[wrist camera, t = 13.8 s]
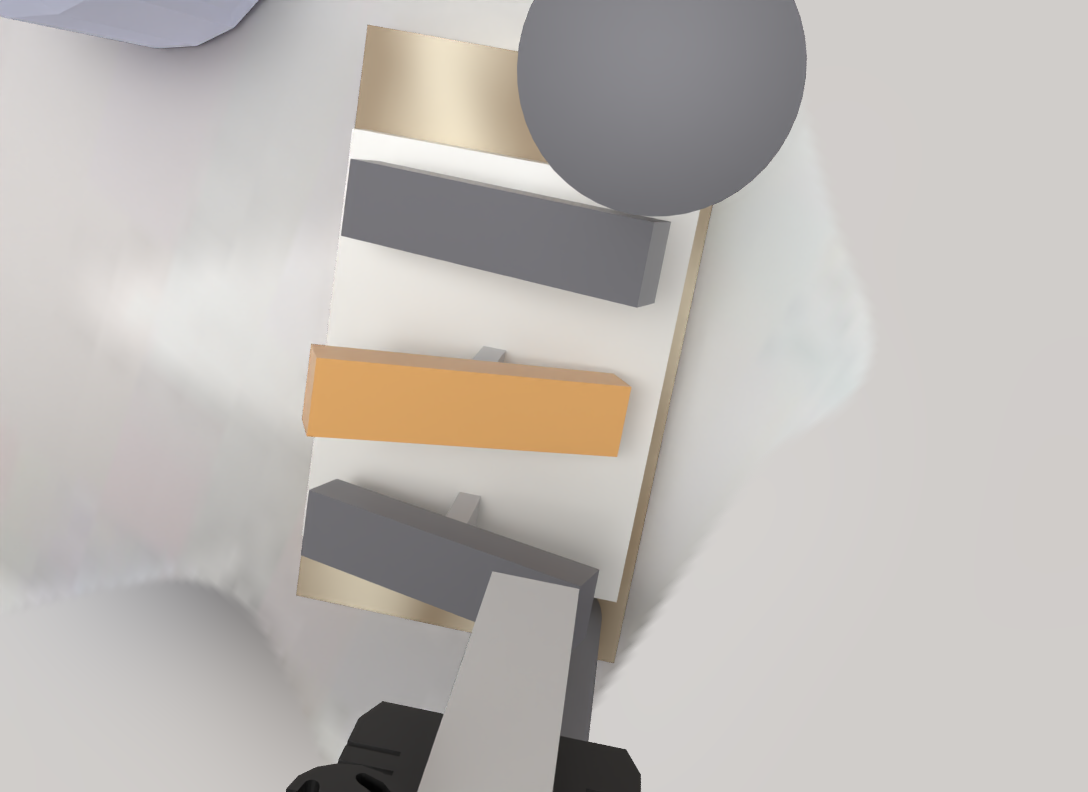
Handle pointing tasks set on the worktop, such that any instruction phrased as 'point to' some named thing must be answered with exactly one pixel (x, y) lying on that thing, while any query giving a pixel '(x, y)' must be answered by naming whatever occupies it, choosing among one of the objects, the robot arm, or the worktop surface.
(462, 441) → the middle paddle
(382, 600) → the board
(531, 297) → the block
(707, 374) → the worktop surface
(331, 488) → the bar
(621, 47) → the posts
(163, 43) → the soap bottle
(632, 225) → the front paddle
